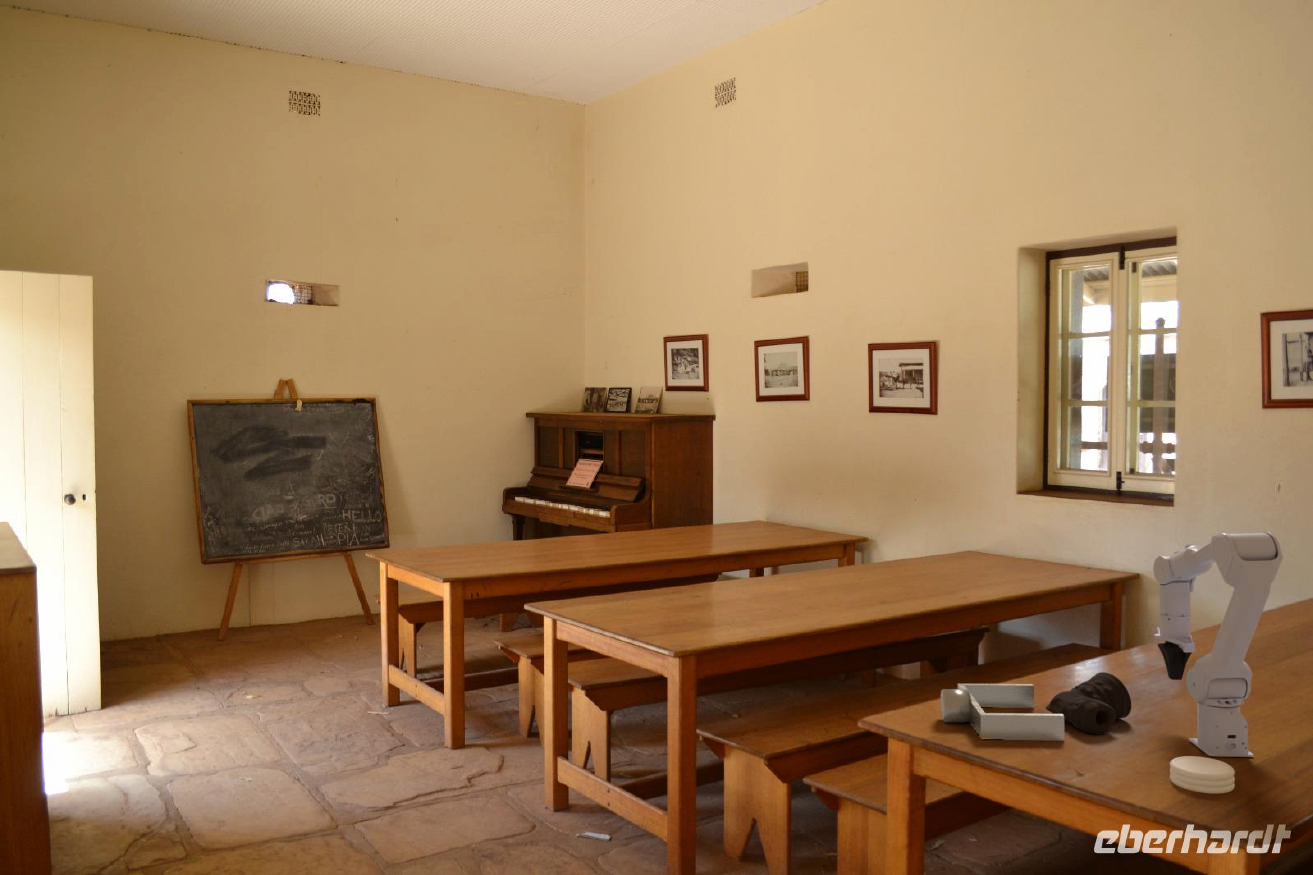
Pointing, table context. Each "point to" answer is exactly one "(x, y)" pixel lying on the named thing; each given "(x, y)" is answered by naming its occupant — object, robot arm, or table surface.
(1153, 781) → the table surface
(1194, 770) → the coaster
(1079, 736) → the table surface
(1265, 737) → the table surface
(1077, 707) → the pipe
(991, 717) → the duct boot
